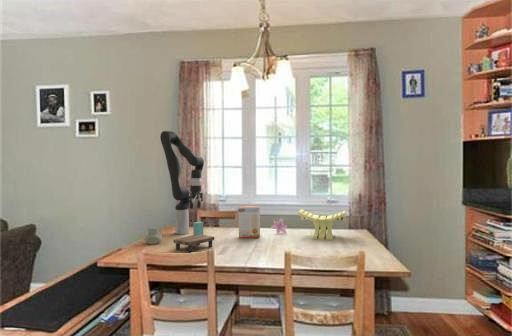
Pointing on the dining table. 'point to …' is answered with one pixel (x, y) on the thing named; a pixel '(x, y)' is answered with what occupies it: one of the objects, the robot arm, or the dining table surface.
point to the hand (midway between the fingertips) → (195, 208)
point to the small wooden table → (193, 241)
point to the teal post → (198, 228)
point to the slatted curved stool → (322, 223)
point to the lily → (279, 226)
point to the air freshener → (153, 236)
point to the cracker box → (249, 221)
